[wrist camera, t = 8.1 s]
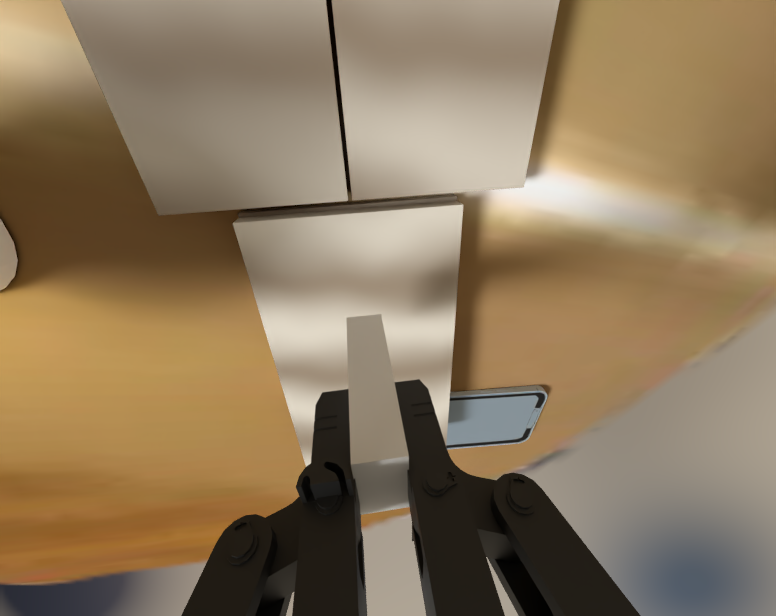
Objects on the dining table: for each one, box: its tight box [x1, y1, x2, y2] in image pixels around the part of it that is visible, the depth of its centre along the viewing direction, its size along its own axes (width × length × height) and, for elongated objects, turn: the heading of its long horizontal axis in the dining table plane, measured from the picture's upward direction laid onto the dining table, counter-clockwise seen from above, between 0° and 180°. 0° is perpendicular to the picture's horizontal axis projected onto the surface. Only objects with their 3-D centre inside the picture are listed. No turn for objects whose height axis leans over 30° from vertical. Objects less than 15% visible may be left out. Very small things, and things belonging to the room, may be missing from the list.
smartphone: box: [446, 385, 547, 449], centre depth 28 cm, size 7×1×15 cm
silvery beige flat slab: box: [233, 194, 463, 467], centre depth 20 cm, size 19×11×2 cm, turn 2°
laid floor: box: [61, 0, 560, 215], centre depth 12 cm, size 12×17×2 cm
